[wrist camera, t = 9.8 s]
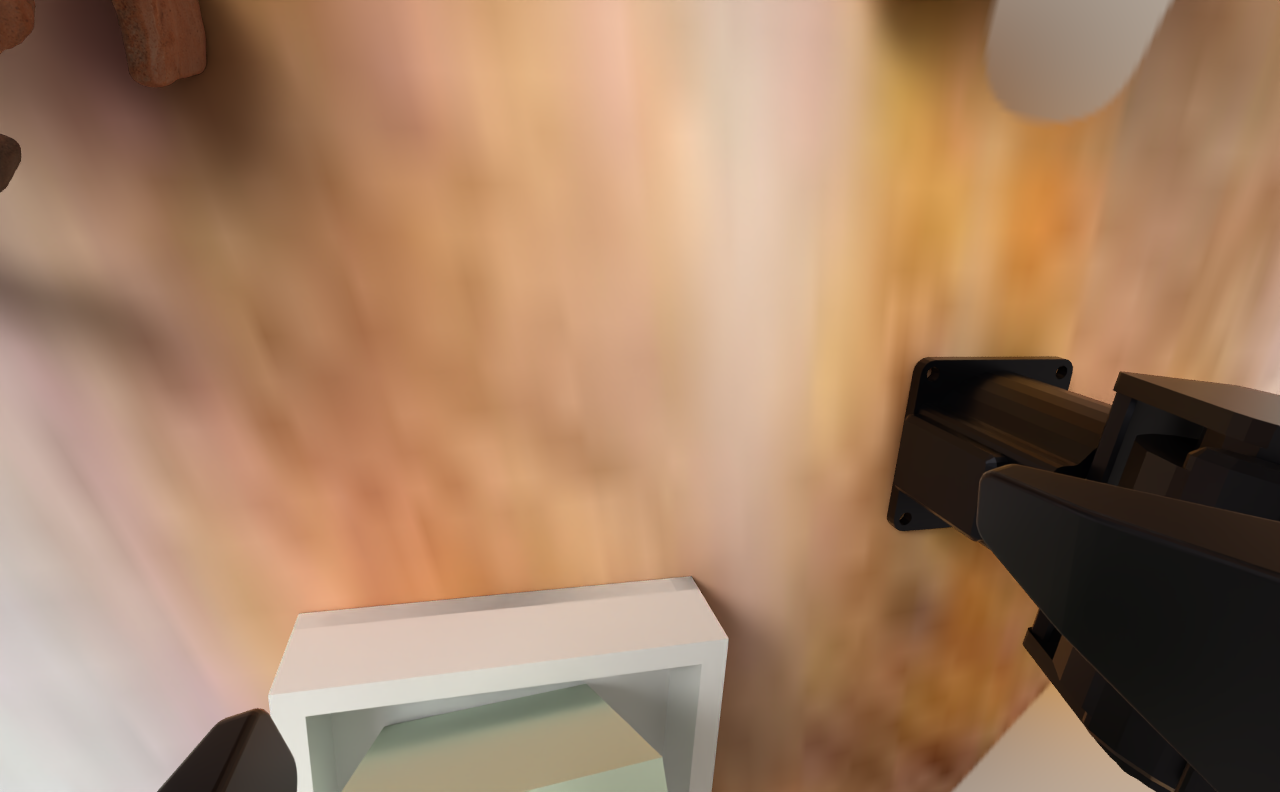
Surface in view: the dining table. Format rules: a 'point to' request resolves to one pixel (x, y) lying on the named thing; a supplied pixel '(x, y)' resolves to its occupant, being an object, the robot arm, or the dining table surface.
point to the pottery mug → (154, 42)
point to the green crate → (514, 750)
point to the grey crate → (505, 669)
